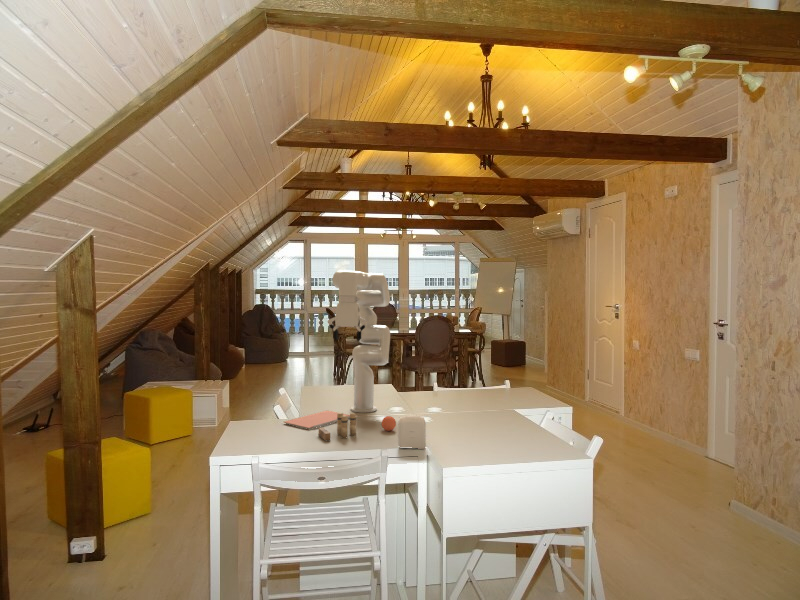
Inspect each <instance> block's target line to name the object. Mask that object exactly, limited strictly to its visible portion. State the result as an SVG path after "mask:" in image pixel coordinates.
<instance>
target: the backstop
mask: <svg viewBox="0 0 800 600" xmlns="http://www.w3.org/2000/svg"><path fill="white" fill-rule="evenodd" d="M318 436H319V437H320V436H321V437H322V438H323V439H324V440H330V441H331V432H330V431H328V430H327V428H325V427H319V428H318ZM321 437H320V438H321ZM322 438H321V439H322ZM323 439H322V440H323ZM324 440H323V441H324Z"/></svg>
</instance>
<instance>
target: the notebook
mask: <svg viewBox="0 0 800 600" xmlns="http://www.w3.org/2000/svg"><path fill="white" fill-rule="evenodd" d="M338 413H339V412H337V411H332V410H323V411H320V412H319V411H318V412H316V413H312V414H307V415H304V416H301V417H296V418H293V419H288V420H285V421H283V423H286V424H290V425H294V426H297V427H296V428H299V427H302V428H301V429H303V428H307V429H312V428H315V429H317V428H318V429H319V428H321V427H320V426H322V427H323V426H325V427H327V426H328V425H327V424H329V425H331V424H332V425H334V424H333V423H335V422H336V423H337V414H338ZM343 416H348V419H349V420H350V414H346V413H343ZM330 423H331V424H330ZM336 423H335V424H336ZM286 424H285V425H286ZM290 425H289V426H290ZM294 426H293V427H294ZM316 427H317V428H316ZM307 429H306V430H307ZM312 430H313V429H312Z"/></svg>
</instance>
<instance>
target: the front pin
mask: <svg viewBox="0 0 800 600" xmlns="http://www.w3.org/2000/svg"><path fill="white" fill-rule="evenodd" d="M349 415H350V418H349V436H351V435H354V436H356V435H355V434H357V433H356V432H357V430H356V428H357V413H356V412H353V413H349Z"/></svg>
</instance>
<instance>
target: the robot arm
mask: <svg viewBox="0 0 800 600" xmlns="http://www.w3.org/2000/svg"><path fill="white" fill-rule="evenodd" d="M332 284H333V286H334V287H335V288H336V289H338V303H337V304H336V309H335V316H334V317H332V318H330V319H328V320H327V323H328V326H329V327H330V328H331V330H332V331H333V339H334V341H338V340H339V330H338V329H339V328H355V329H356V330H357V332H356V341H357V342H359V343H361V344H360V345H357V346H355V347H353V349H352V362H353V379H354V380H353V381H354V382H353V386H354V387H353V405H352V406H351V407H350V411H351V412H353V413H359V414H360V413H362V414H363V413H364V414H365V413H373V412H375V411H377V406H375V405H374V398H375V397H374V396H375V395H374V392H375V391H374V390H375V389H374V388H375V387H374V385H375V384H374V381H375V380H374V379H375V376H374V371H373V369H372V368H371V367H370V366H385V365H387V364H388V361H389V354H390V345H391V330H390V327H388V326H387V325H382V324H377V323H378V316H377V314H376V313H375V311H374V310H373V309H372V308H373V307H375V308H376V307H379V308H380V307H382V308H383V307H388V306H389V304H390V301H391V300H390V299H391V295H390V289H389V284H388V281H387V278H386V276H385V274H383V273H380V272H379V273H375V272H374V273H372V272H369V273H368V272H363V271H360V270H359V271H358V270H337V271H335V272H334V274H333V276H332ZM371 307H372V308H371ZM333 322H335V325H334V324H333Z"/></svg>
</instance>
